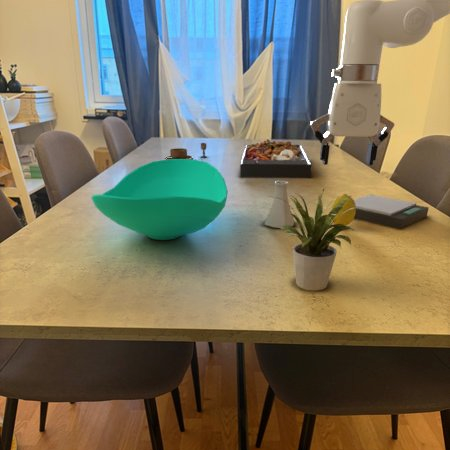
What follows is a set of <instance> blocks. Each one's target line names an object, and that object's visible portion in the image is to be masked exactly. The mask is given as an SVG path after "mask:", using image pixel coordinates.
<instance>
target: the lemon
mask: <svg viewBox="0 0 450 450" xmlns="http://www.w3.org/2000/svg"><path fill="white" fill-rule="evenodd" d="M339 196H340V197H339ZM339 196H337V197H338V198H337V197H336V198H337V199H336V198H335V199H336V200H334V199H333V200H334V201H333V202H332V203H331V207H330V211H331V210H332V209H333V208H334V207H335V206H336V205H337V204H338V203H339V202H340V201H341V200H342V199H344V198H346V197H349V196H350V195H348V194H347V193H343V194H342V195H339ZM354 200H355V199H354V198H352V196H351V197H350V198H349V199H348V200H347V201H346V202H345V203H344V205H343V208H342V209H341V210H340V211H339V212H338V214H337V215H336V216H335V217H334V219H333V220H332V222H333V221H334V220H335V219H336V218H337V219H336V220H335V221H334V222H333V223H334V224H344V225H345V226H349V225H351V223H352V222H353V220H354V219H355V218H354V216H355V212H356V208H354V207H356V206H355V202H354ZM351 208H353V209H351ZM348 209H350V210H348ZM347 210H348V211H347ZM345 211H346V212H345ZM344 212H345V213H344ZM341 214H342V215H341ZM340 215H341V216H340Z"/></svg>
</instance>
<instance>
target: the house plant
mask: <svg viewBox="0 0 450 450" xmlns="http://www.w3.org/2000/svg"><path fill="white" fill-rule="evenodd" d="M325 189H326V187H324V188H323V189H322V191H321V192H320V194H319V195H318V198H317V204H316V208H315V215H314V217H313V216H310V215H309V209H308V206H307V203H306V201H305V199H304V198H303V196H302V195H301V194H299V193H296V195H297V196H298V197H300V198H301V199H302V202H303V205H304V207H303V206H302V205H301V203H300V202H299V200H298V199H297V198H296V197H295V196H293V195H292V194H291V195H290V196H291V197H290V199H291V201H292V202H293V204H294V205H295V207H292V206H291V205H290V203H289V204H288V203H287V202H286V201H285V202H286V203H287V204H288V205H289V206H290V209H291V210H292V211H293V212H294V213H293V212H292V213H287V214H291V215H292V216H293V219H294V220H295V221H296V223H297V225H298V227H299V229H300V232H301V233H300V232H299V231H298V229H297V228H296V227H294V226H290V225H285V226H283V227H282V228H279V230H282V231H283V230H284V231H285V232H283V234H292V235H290V237H295V236H296V237H297V238H298V239H299V240H300V242H301V243H299V244H296V245H295V246H294V247H293V249H292V253H293V261H294V262H293V263H294V273H295V282H296V283H295V284H296V285H297V286H298V287H299V288H301V289H303V290H307V291H315V292H316V291H321V290H324V289H326V288H327V287H328V283H329V281H330V276H331V274H332V270H333V267H334V263H335V260H336V256H337V253H338V252H337V249H336V248H335V247H333V246H332V245H330V244H335V245H337V246H338V247H339V248H340V249H342V242H341V240H339V239H342V240H344V241H346V242H347V243H348V244H349V246H352V240H351V238H350V237H349V236H347V235H344V234H339V233H341V232H344V231H350V230H351V231H355V229H353V228H352V227H351V226H349V225H346V226H345V225H344V224H335V223H334V221H335V220H336V219H337V218H336V219H335V220H334V221H332V220H333V219H334V217H335V216H336V215H337V214H338V212H339V211H340V210H341V209H342V208H343V205H344V203H345V202H346V201H347V200H348V199H349V198H350V197H351V198H352V195H348V196H349V197H346V198H344V199H342V200H341V201H340V202H339V203H338V204H337V205H336V206H335V207H334V208H333V209H332V210H331V209H330V211H329V213H327V214H324V212H325V210H326V209H327V208H328V207H329V206H330V205H332V204H333V202H334V200H336V199H337V198H338V197H340V196H341V195H339V196H337V197H336V198H334V199H332V201H330V202H328V204H327V205H326V206H325V207H324V206H323V201H322V197H323V194H324V192H325ZM269 197H270V198H273V196H271V195H270V196H269ZM275 198H277V197H275ZM278 199H281V198H278ZM281 200H283V199H281ZM283 201H284V200H283ZM323 208H324V209H323ZM354 208H357V207H354ZM294 209H296V210H297V211H298V213H299V215H300V216H301V219H302V221H303V223H302V222H301V220H300V218H299V216H298V215H297V214H296V212H295V210H294ZM351 209H353V208H351ZM348 210H350V209H348ZM348 210H347V211H348ZM345 212H346V211H345ZM345 212H344V213H345ZM341 215H342V214H341ZM341 215H340V216H341ZM333 223H334V224H333ZM303 225H304V226H303Z"/></svg>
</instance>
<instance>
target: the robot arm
mask: <svg viewBox="0 0 450 450" xmlns="http://www.w3.org/2000/svg"><path fill="white" fill-rule="evenodd" d="M448 15H450V0H387V1H384V0H356V1H353V2H351V3H350V4H349V5H348V6H347V9H346V14H345V20H344V21H345V22H344V30H343V38H342V39H343V40H342V48H341V57H340V65H339V66H338V67H337V68H333V69H332V72H331V77H335V78H337V80H338V82H335V83H334V85H333V89H332V92H331V98H330V103H329V107H328V112H327V113H326V114H324V115H322V116H320V117H318V118H315V119H313V120H312V121H310V124H309V125H310V128H311V130H312V133H313V136H314V137H315V138H316V139H317V140H318V142H319V143H320V153H319V160H320V161H321V163H322V164H323V165H324V166H325V165H328V164H329V157H330V148H331V147H330V145H329V143H330V142H331V141H332V139H333V138H335V137H344V138H345V137H349V138H350V137H352V138H358V137H359V138H365V137H366V138H368V139H369V141H370V142H369V143H368V145H367V150H366V157H365V163H366V164H367V165H368V166H373V165H374V161H376V159H377V153H378V147H379V146H380V145H381V143H382V142H383V141H385V140H386V139H387V137H388V136H389V134H390V133H391V132H392V130H393V128H394V127H395V123H394V122H393V121H392V120H390V119H388V118H387V117H385V116H383V115H382V114H381V111H382V83H378V79H379V72H380V64H381V58H382V53H383V46H384V47H386V48H388V49H389V48H390V49H397V48H404V47H408V46H412V45H415V44H417V43H419V42H421V41H422V40H423V39H424V38H425V37H427V36H428V34H429V33H430V31H431V30H432V28H433V25H434V23H436V22H438V21H439V20H441V19H443V18H444V17H447V16H448ZM324 123H326V132H325V133H324V134H322V132H321V130H320V126H321V125H323V124H324ZM380 124H381V125H383V126H384V128H383V129H382V131H381V132H380V133H378V132H379V128H380Z"/></svg>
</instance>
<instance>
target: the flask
mask: <svg viewBox="0 0 450 450" xmlns="http://www.w3.org/2000/svg"><path fill="white" fill-rule="evenodd" d="M289 183H290V182H289V181H286V180H277V181H274V186H275V192H274V196H273V201H272V204H271V206H270V209H269V212H268V214H267V216H266V219H265V221H264V224H263V225H265V226H268V227H271V228H278V229H280V228H282V227H283V226H285V225H290V226H292V227H294V225H295V218H294V217H293V216H292V215H291V214H287V213H292V214H293V212H292V209H291V207H290V206H291V205H290V202H289V198H288V186H289ZM275 197H277V198H275ZM278 198H281V199H283V200H284V201H283V200H281V199H278ZM285 201H286V202H287V203H288V204H289V205H290V206H289V205H288V204H287V203H286V202H285Z"/></svg>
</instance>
